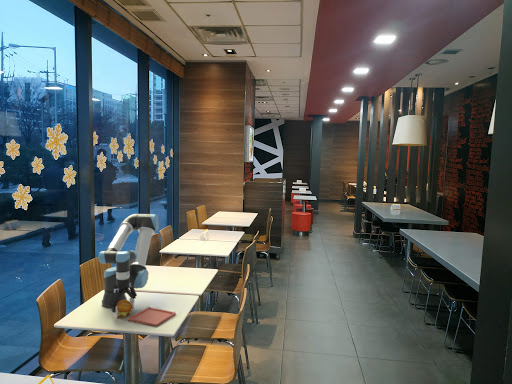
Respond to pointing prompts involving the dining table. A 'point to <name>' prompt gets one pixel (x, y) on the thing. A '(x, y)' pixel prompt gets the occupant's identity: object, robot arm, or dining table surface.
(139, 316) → the tray
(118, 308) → the cheeseburger
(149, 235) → the robot arm
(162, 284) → the dining table surface
